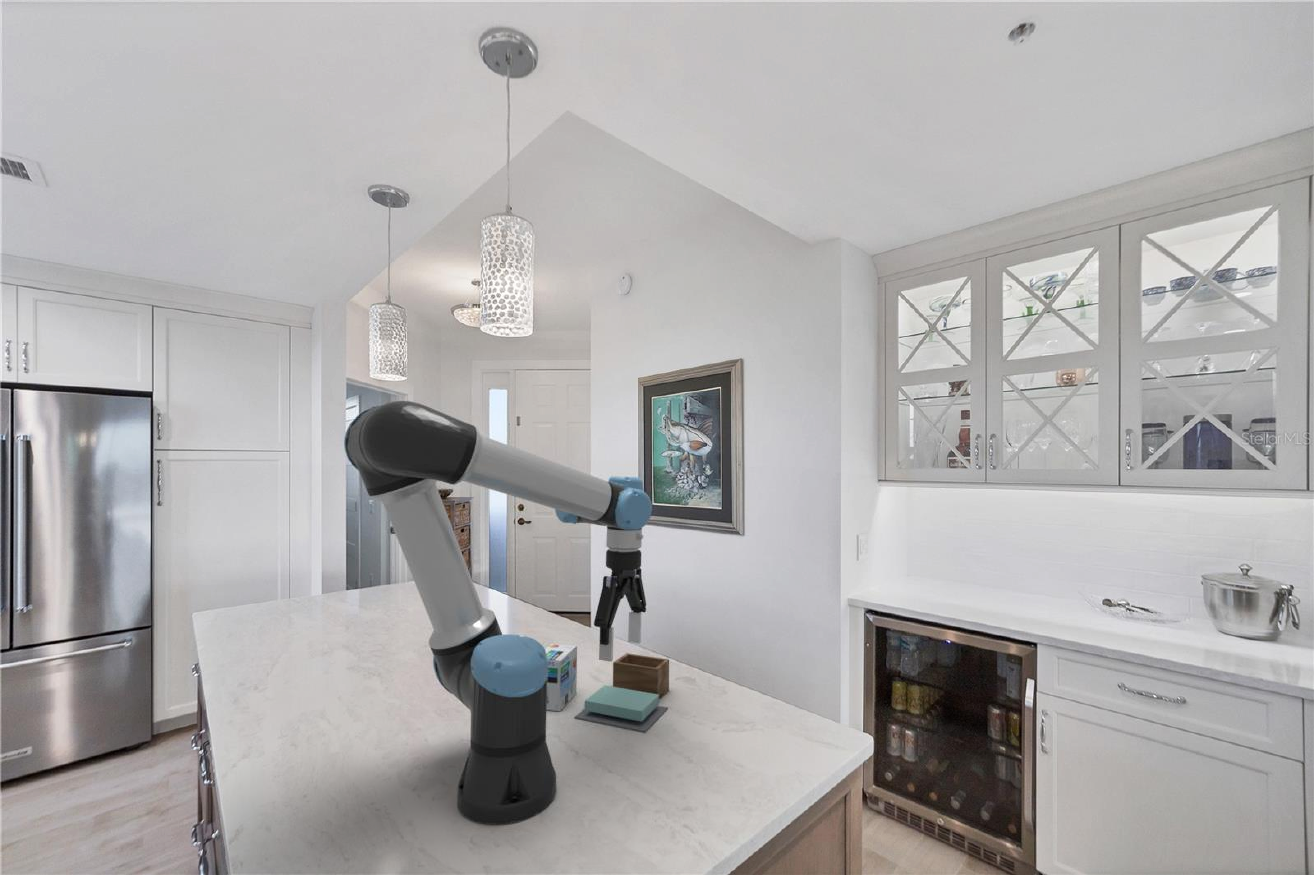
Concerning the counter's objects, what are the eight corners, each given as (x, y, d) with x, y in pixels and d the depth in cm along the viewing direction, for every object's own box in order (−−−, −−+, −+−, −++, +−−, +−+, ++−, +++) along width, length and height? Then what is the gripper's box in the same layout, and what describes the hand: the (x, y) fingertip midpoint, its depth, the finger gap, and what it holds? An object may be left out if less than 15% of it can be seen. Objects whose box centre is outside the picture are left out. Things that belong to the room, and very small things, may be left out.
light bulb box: (560, 712, 121) (561, 660, 122) (530, 709, 123) (531, 658, 123) (577, 692, 132) (578, 645, 132) (549, 690, 133) (550, 643, 133)
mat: (645, 732, 112) (645, 731, 112) (574, 718, 118) (574, 716, 118) (668, 708, 123) (668, 707, 123) (601, 696, 129) (601, 695, 129)
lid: (641, 726, 114) (641, 711, 114) (584, 715, 119) (584, 700, 119) (658, 709, 122) (659, 694, 123) (604, 699, 127) (604, 685, 127)
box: (657, 701, 127) (657, 669, 127) (612, 693, 131) (613, 662, 131) (668, 690, 133) (669, 659, 134) (626, 683, 138) (626, 653, 138)
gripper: (613, 557, 109) (609, 672, 108) (662, 544, 132) (659, 638, 131) (578, 554, 112) (574, 665, 111) (632, 542, 135) (629, 633, 134)
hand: (620, 651), depth 121 cm, fingers open, 13 cm apart
